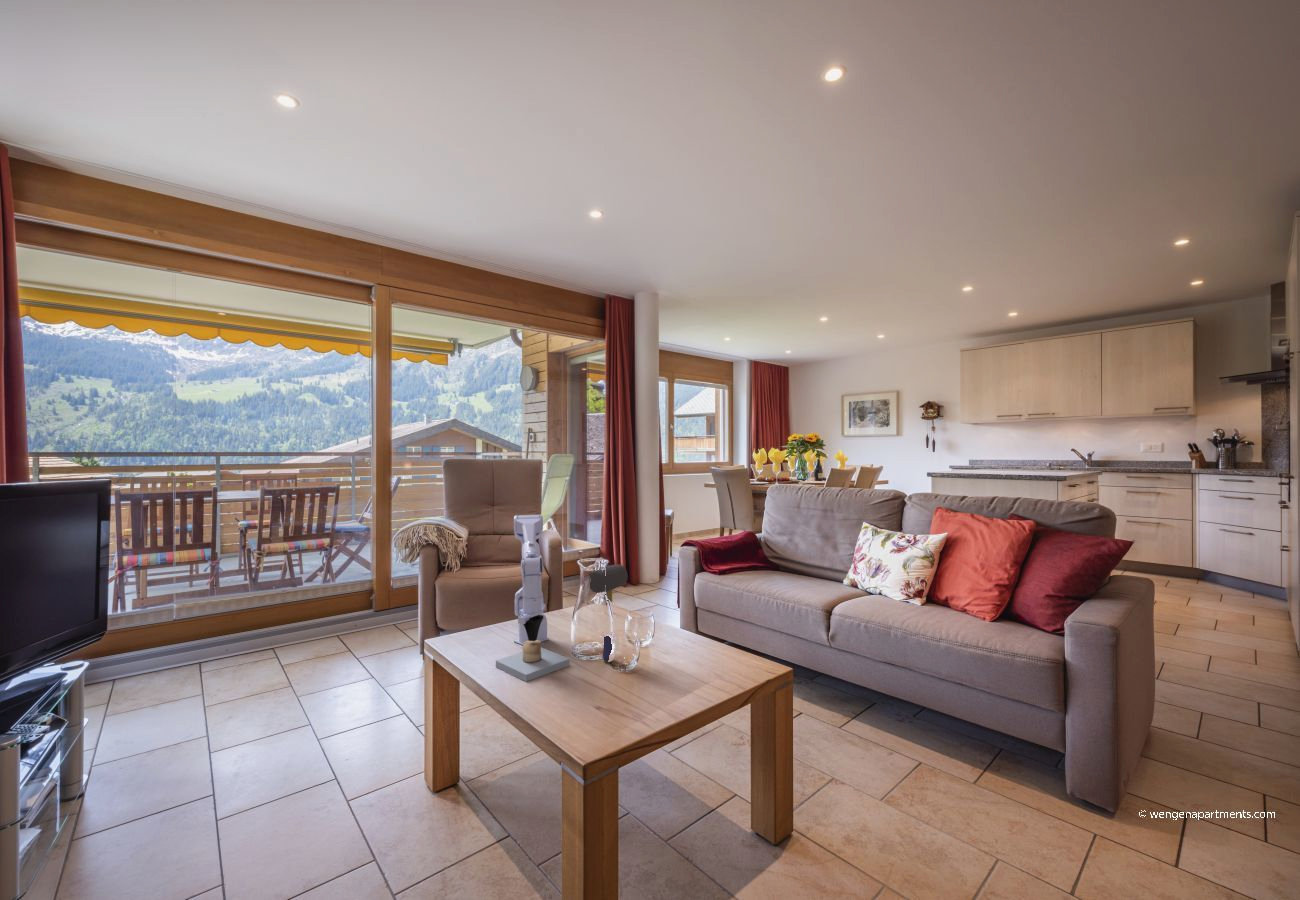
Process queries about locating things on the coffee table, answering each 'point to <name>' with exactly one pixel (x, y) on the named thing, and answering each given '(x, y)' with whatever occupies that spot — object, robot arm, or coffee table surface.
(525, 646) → the oak peg
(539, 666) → the mortise board
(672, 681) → the coffee table surface
